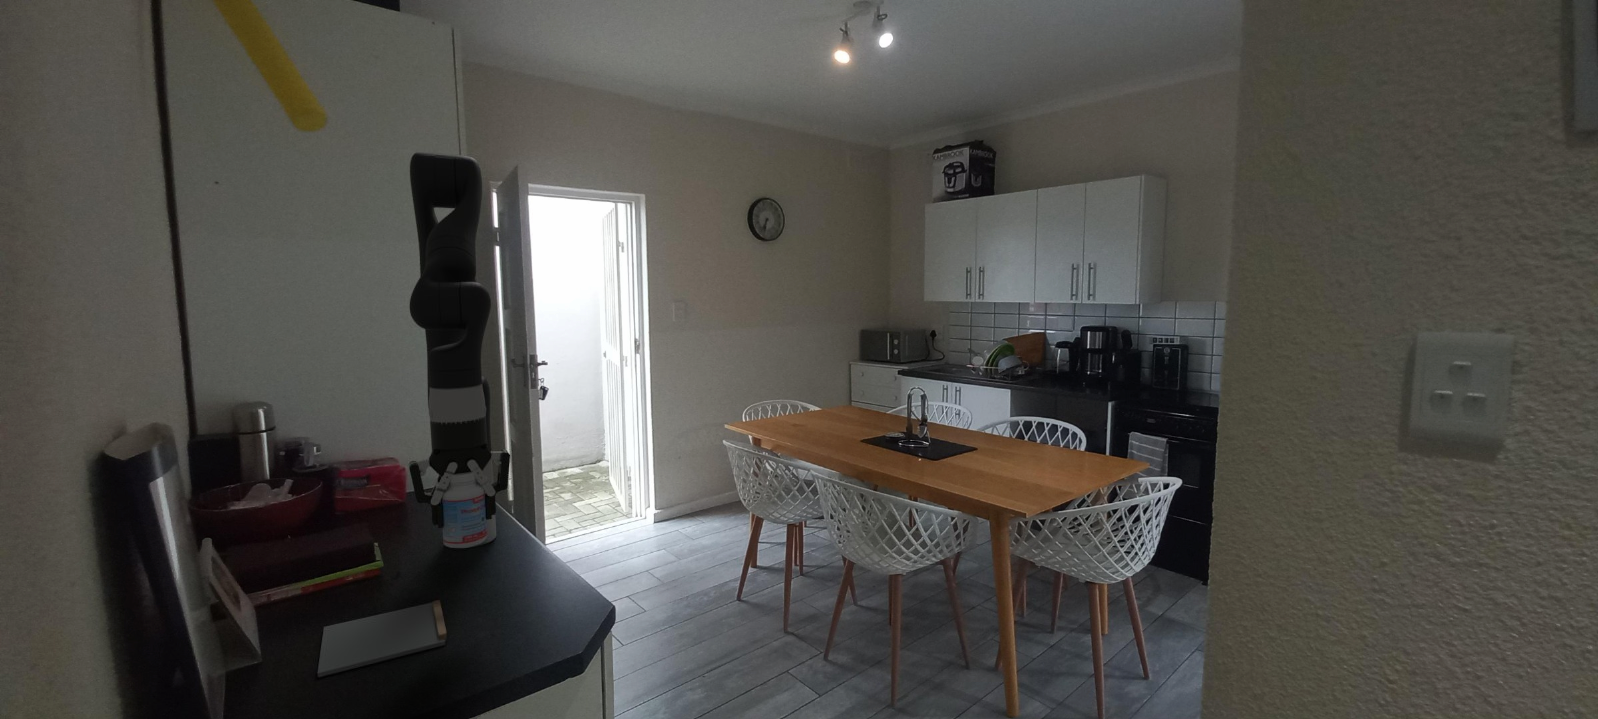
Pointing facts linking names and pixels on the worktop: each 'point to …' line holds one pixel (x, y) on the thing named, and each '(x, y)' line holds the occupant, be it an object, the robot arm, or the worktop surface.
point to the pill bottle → (464, 512)
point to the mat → (378, 639)
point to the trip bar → (439, 620)
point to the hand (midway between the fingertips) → (464, 522)
